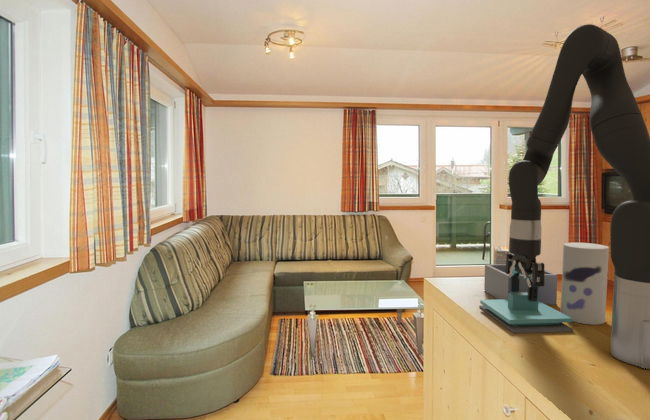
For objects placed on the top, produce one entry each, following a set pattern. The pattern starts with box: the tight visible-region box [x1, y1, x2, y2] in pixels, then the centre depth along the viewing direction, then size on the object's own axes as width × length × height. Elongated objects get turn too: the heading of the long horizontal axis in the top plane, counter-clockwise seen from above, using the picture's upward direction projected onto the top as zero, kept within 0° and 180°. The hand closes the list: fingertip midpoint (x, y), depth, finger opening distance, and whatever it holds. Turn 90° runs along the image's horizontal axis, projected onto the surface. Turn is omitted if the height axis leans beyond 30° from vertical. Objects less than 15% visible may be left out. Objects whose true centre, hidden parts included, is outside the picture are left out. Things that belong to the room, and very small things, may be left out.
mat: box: [478, 304, 575, 334], centre depth 104 cm, size 19×15×1 cm
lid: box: [479, 292, 573, 326], centre depth 104 cm, size 16×16×6 cm
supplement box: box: [492, 245, 510, 265], centre depth 137 cm, size 8×5×13 cm, turn 160°
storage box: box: [483, 264, 559, 306], centre depth 122 cm, size 15×15×9 cm
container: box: [560, 242, 610, 326], centre depth 103 cm, size 10×10×20 cm
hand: (523, 296), depth 104 cm, fingers open, 8 cm apart
